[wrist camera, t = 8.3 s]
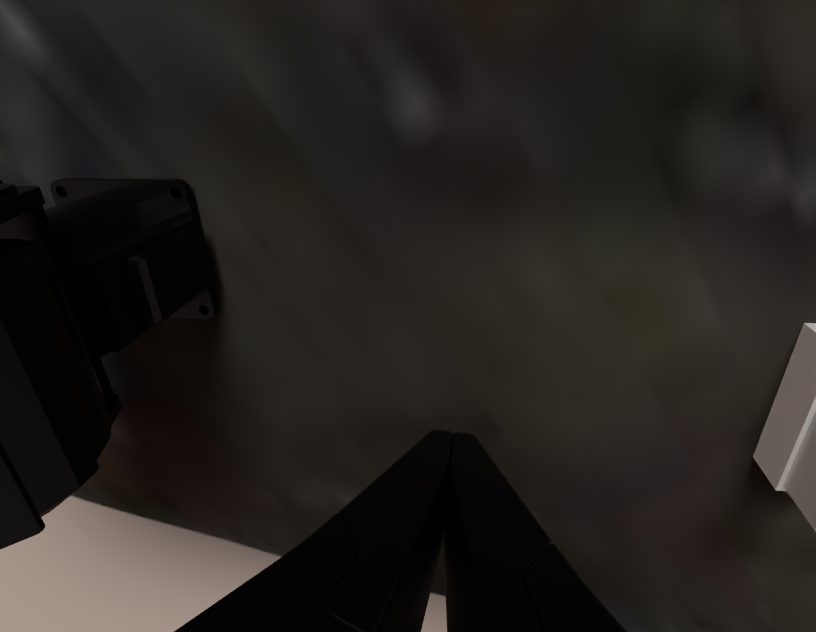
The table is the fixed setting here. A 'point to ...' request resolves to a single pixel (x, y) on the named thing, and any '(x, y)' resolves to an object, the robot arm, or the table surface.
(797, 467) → the trolley
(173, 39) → the table surface
